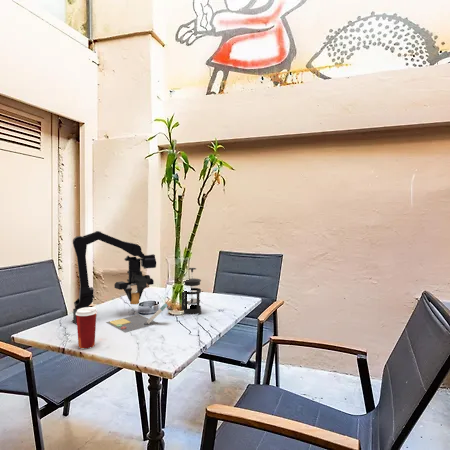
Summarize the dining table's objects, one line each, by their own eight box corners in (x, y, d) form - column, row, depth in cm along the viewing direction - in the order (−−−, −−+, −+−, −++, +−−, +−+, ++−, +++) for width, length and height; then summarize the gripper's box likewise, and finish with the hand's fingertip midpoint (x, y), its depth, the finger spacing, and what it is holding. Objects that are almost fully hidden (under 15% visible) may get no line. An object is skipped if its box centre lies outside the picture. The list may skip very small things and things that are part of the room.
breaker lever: (146, 321, 152) (163, 304, 151) (148, 319, 155) (165, 303, 154) (148, 324, 152) (165, 307, 151) (151, 321, 155) (168, 305, 154)
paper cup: (101, 343, 132) (101, 307, 131) (87, 351, 124) (87, 313, 124) (85, 340, 134) (85, 305, 134) (70, 348, 127) (70, 311, 126)
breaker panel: (125, 334, 142) (125, 331, 142) (105, 324, 154) (105, 321, 154) (159, 325, 154) (159, 322, 154) (138, 316, 166) (138, 313, 166)
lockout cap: (132, 304, 165) (132, 294, 165) (128, 303, 168) (128, 293, 168) (140, 303, 168) (140, 293, 168) (136, 301, 172) (136, 291, 171)
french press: (193, 309, 179) (193, 265, 178) (206, 312, 173) (206, 267, 172) (176, 314, 170) (176, 268, 169) (189, 318, 164) (189, 270, 163)
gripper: (125, 273, 155) (125, 307, 156) (159, 269, 169) (159, 300, 169) (113, 270, 163) (114, 302, 164) (147, 266, 176) (147, 296, 177)
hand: (134, 300), depth 168 cm, fingers closed on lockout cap, 4 cm apart
